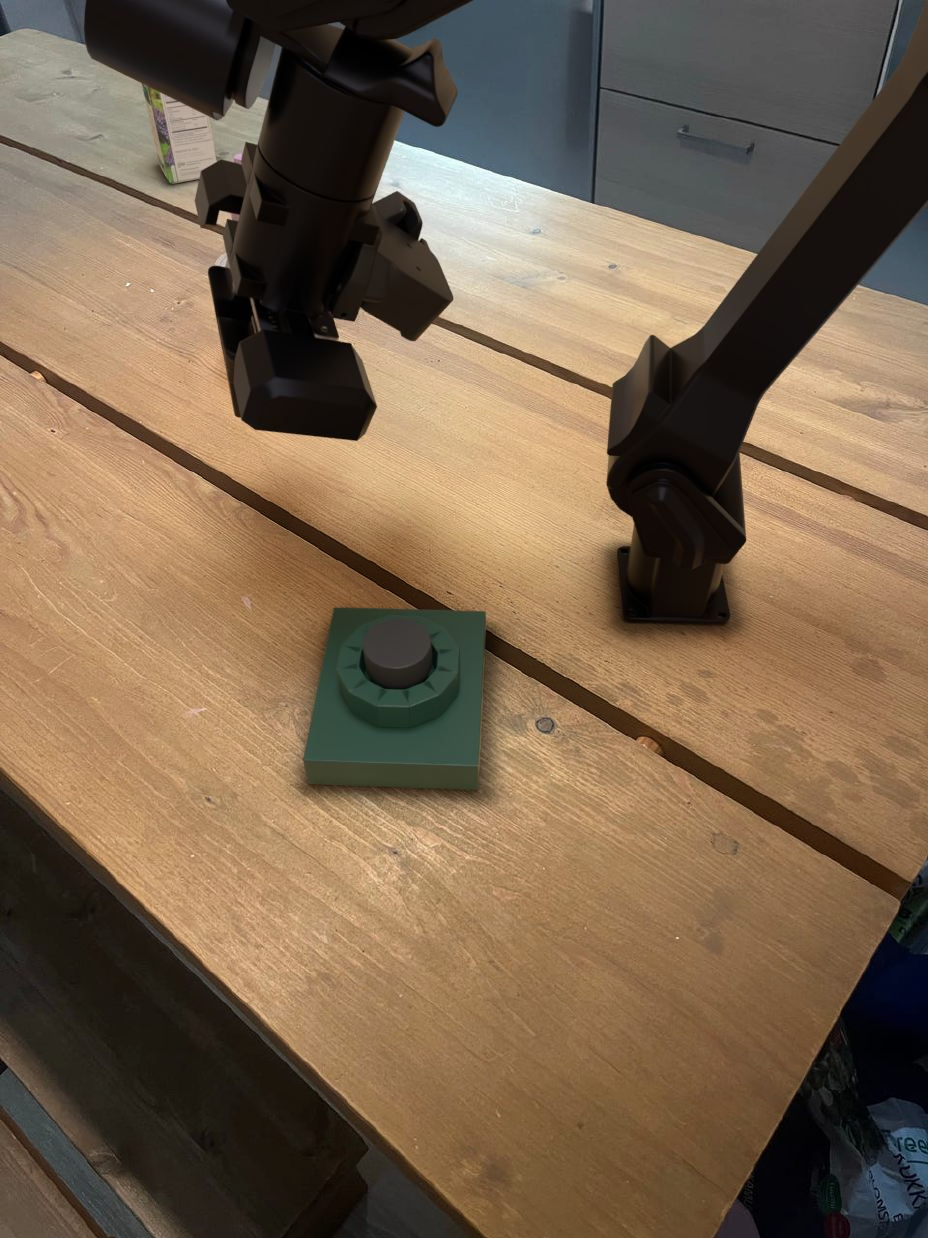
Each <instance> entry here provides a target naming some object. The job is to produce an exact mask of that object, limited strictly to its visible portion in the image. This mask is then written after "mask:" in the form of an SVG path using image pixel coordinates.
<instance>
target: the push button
mask: <svg viewBox="0 0 928 1238" xmlns="http://www.w3.org/2000/svg"><path fill="white" fill-rule="evenodd" d="M363 651H364V659H365V666H366V671H367V673H368V675H369V677H370V678H371V679H372V680H373V681H374V682H375V683H377V684H378V685H380V686H382V687H385V688H389V689H405V688H409V687H412V686H415V685H417V684H419V683H420V682H422V681H423V680H424V679H425V678H426V677H427V676H428V674H429V672H430V671H431V668H432V645H431V637H430V635H429V633H428V631H427V630H426V629H425V628H424V627H423V626H422V625H421V624H419V623H417V622H415V621H413V620H409V619H403V618H395V619H389V620H385V621H382V622H380V623H378V624H376V625H375V626H374V627H372V628H371V629H370V630H369V631H368V633H367V634H366V636H365V638H364V641H363Z"/></svg>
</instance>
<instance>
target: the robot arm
mask: <svg viewBox="0 0 928 1238" xmlns="http://www.w3.org/2000/svg"><path fill="white" fill-rule="evenodd" d="M473 1H474V0H85V5H84V15H83V16H84V17H83V18H84V19H83V33H84V43H85V44H84V45H85V48H86V51H87V54H88V55H89V57H90V58H91V59H92V60H94V61H95V62H98V63H99V64H102V65H104V66H105V67H107V68H110V69H112V70H114V71H115V72H117V73H120V74H122V75H124V76H126V77H128V78H130V79H132V80H134V81H136V82H138V83H139V84H141V85H142V84H144V85H146V86H148V87H150V88H152V89H154V90H156V91H158V92H160V93H162V94H164V95H166V96H168V97H170V98H172V99H174V100H176V101H179V102H181V103H183V104H185V105H187V106H189V107H191V108H193V109H195V110H197V111H199V112H201V113H203V114H205V115H207V116H209V118H210V119H213V120H215V121H220V120H221V119H223V118H225V116H226V115H227V113H228V111H229V110H230V108H231V106H232V104H233V103H235V104H236V105H238V106H240V107H242V108H244V109H246V110H250V109H251V108H252V107H253V105H254V104H255V103H256V101H257V99H258V97H259V95H260V93H261V91H262V88H263V86H264V84H265V81H266V79H267V76H268V73H269V70H270V67H271V64H272V60H273V57H274V53H275V49H276V48H275V47H276V45H277V46H279V47H280V48H281V50H280V53H279V57H278V61H277V65H276V69H275V73H274V77H273V81H272V84H271V89H270V94H269V96H268V101H267V105H266V109H265V113H264V116H263V121H262V125H261V129H260V132H259V137H258V141H257V144H256V143H253V142H248V141H245V142H244V147H243V151H242V153H243V154H242V159H241V164H239V163H235V162H234V161H230V160H226V159H222V158H221V159H219V160H217V162H215V163H214V164H212V165H210V166H208V167H207V168H205V169H203V170H201V173H200V178H199V179H198V183H197V188H196V193H195V197H194V204H195V209H196V214H197V219H198V223H199V228H200V229H204V230H209V231H212V230H213V229H214V228H216V227H217V223H218V219H219V214H220V212H224V213H227V214H231V213H233V214H238V215H240V216H239V220H238V221H235V220H232V219H229V218H226V221H225V226H224V229H223V233H222V240H223V243H224V244H223V245H224V249H225V253H226V254H227V261H226V265H225V267H222V266H215V265H211V266H209V267H208V269H207V276H208V277H207V278H208V282H209V288H210V293H211V298H212V303H213V308H214V315H215V320H216V325H217V330H218V335H219V340H220V346H221V350H222V356H223V361H224V366H225V372H226V378H227V383H228V388H229V393H230V399H231V400H230V401H231V403H232V405H231V406H232V409H233V414H234V416H235V418H240V421H242V422H243V423H245V424H246V425H248V426H249V427H250V428H252V429H253V430H254V431H262V432H269V433H270V432H271V433H280V434H288V435H289V434H290V435H297V436H308V437H316V438H326V439H335V440H344V441H354V442H358V441H359V440H360V439H361V438H363V437H364V436H365V435H366V434H367V431H368V429H369V427H370V424H371V423H372V419H373V417H374V415H375V413H376V411H377V408H378V405H377V401H376V399H375V395H374V392H373V389H372V385H371V382H370V380H369V377H368V374H367V371H366V368H365V364H364V361H363V359H362V358H361V356H360V355H359V353H358V352H357V350H356V349H355V347H354V346H353V344H352V343H351V342H346V341H341V340H339V339H340V335H339V331H338V328H337V326H336V321H335V319H336V320H342V321H347V322H356V321H357V318H358V314H359V312H360V309H362V310H363V311H364V312H365V313H367V314H368V315H370V316H372V317H374V318H375V319H377V320H379V321H380V322H382V323H383V324H385V325H387V326H389V327H391V328H392V329H394V330H396V331H399V334H400V336H401V337H402V338H404V339H405V340H407V341H409V342H416V341H418V340H419V338H420V337H421V336H422V335H423V334H424V333H425V332H426V331H427V329H428V328H429V327H430V326H432V324H433V323H434V322H435V321H436V320H437V319H438V318H439V317H440V315H442V313H443V312H444V311H445V310H446V309H447V308H448V307H449V306H450V305H451V304H452V302H453V301H454V295H453V292H452V290H451V287H450V285H449V282H448V281H447V277H446V275H445V273H444V270H443V268H442V266H441V264H440V261H439V259H438V258H437V256H436V255H435V254H434V253H433V251H431V249H430V247H429V244H428V241H427V240H426V239H424V238H423V237H420V236H421V233H422V228H423V224H424V223H423V219H422V216H421V214H420V212H419V210H418V207H417V205H416V203H415V202H414V201H413V200H412V199H410V198H408V197H407V196H405V194H403V193H401V192H400V191H398V190H396V191H394V192H391V193H390V194H388V195H386V196H384V197H382V198H380V199H378V200H376V201H374V199H375V197H376V193H377V191H378V189H379V186H380V182H381V179H382V176H383V174H384V171H385V169H386V166H387V162H388V160H389V157H390V154H391V152H392V149H393V146H394V143H395V140H396V138H397V135H398V132H399V129H400V127H401V124H402V121H403V118H404V115H405V113H407V114H409V115H411V116H412V117H415V118H417V119H418V120H421V121H423V122H425V123H427V124H428V125H430V126H432V127H435V128H440V127H442V126H443V125H444V124H445V123H446V122H447V119H448V117H449V115H450V113H451V110H452V108H453V106H454V104H455V102H456V99H457V97H458V88H457V86H456V84H455V82H454V80H453V78H452V76H451V73H450V71H449V69H448V68H447V65H446V62H445V59H444V55H443V46H442V42H441V40H440V39H438V38H432V39H430V40H428V41H427V42H425V43H423V44H421V45H416V46H406V45H404V44H403V43H400V42H399V41H397V39H400V38H403V37H405V36H407V35H410V34H412V33H413V32H414V33H415V31H417V30H420V29H421V28H423V27H425V26H427V25H429V24H431V23H433V22H434V21H437V20H439V19H440V18H442V17H445V16H446V15H448V14H450V13H452V12H454V11H457V10H458V9H460V8H462V7H464V6H466V5H467V4H469V3H471V2H473ZM335 23H339V24H340V25H343V26H344V28H341V27H338V26H335V25H332V24H335ZM908 42H909V43H908V45H907V47H906V50H905V52H904V54H903V56H902V58H901V60H900V62H899V64H898V65H897V67H896V69H895V71H893V73H892V74H891V75H890V77H889V78H888V80H887V81H886V83H885V84H884V85H883V87H881V89H880V91H879V92H878V93H877V94H876V95H875V97H874V98H873V100H872V101H871V102H870V103H869V105H868V106H867V108H866V109H865V110H864V112H863V113H861V114H862V115H860V117H859V118H858V119H857V121H856V122H855V123H854V125H853V126H852V127H851V129H850V130H849V132H848V133H847V135H846V136H845V137H844V138H843V139H842V141H841V142H840V143H839V145H838V146H837V148H836V149H835V151H834V152H833V153H832V154H831V156H830V157H829V158H828V160H827V161H826V162H825V164H824V165H823V166H822V168H821V169H820V171H819V172H818V173H817V175H816V176H815V177H814V178H813V180H812V181H811V183H810V184H809V185H807V186H808V187H806V189H805V190H804V192H803V193H802V194H801V196H800V197H799V198H798V200H796V203H795V204H794V205H793V206H792V208H791V209H790V210H789V211H788V213H787V214H786V216H785V217H784V218H783V219H782V221H781V222H780V223H779V225H778V226H777V228H776V229H775V231H774V232H772V234H771V236H769V238H768V239H767V241H766V243H765V244H764V245H763V246H762V247H761V249H760V250H759V252H757V254H756V255H755V257H754V258H753V260H752V261H751V262H750V264H749V265H748V266H747V268H746V269H745V270H744V272H743V273H742V274H741V276H740V277H739V278H738V280H737V281H736V282H735V284H734V285H733V286H732V288H731V289H730V290H729V292H728V293H727V294H726V295H725V296H724V298H723V299H722V301H721V303H720V304H719V305H718V306H717V308H716V309H715V310H714V312H713V313H712V314H711V316H710V317H709V318H708V320H707V321H706V322H705V324H704V325H703V326H702V327H701V328H700V329H699V330H698V331H697V332H696V333H695V334H693V335H691V336H690V337H687V338H686V339H684V340H682V341H680V342H679V343H676V344H675V345H673V346H671V347H670V346H669V345H668V344H666V343H665V342H664V341H662V340H661V339H660V338H659V337H657V335H655V334H650V335H648V338H647V339H646V340H645V342H644V344H643V345H642V348H641V350H640V353H639V354H638V357H637V358H636V361H635V363H634V364H633V366H632V367H631V368H630V369H629V370H628V371H627V372H626V374H625V375H623V376H621V377H620V378H618V379H616V380H615V381H614V382H613V383H612V384H611V397H610V409H609V410H610V411H609V420H608V421H609V423H608V432H607V443H606V445H607V446H606V455H607V456H608V460H607V472H606V484H605V485H606V487H607V490H608V494H609V497H610V499H611V501H612V502H613V503H614V504H615V505H616V507H617V508H618V509H619V510H620V511H622V512H623V513H624V514H626V515H627V516H630V517H631V518H632V521H633V529H632V534H631V542H630V545H621V546H619V547H618V548H617V549H616V555H615V557H616V569H617V579H618V589H619V590H618V591H619V592H618V593H619V602H620V614H621V619H622V620H623V621H624V622H626V623H629V624H656V625H658V624H659V625H689V626H690V625H693V626H695V625H696V626H726V625H728V624H729V623H730V620H731V611H730V606H729V601H728V596H727V592H726V591H727V590H726V586H725V581H724V576H723V573H724V568H725V565H728V564H729V563H731V561H732V560H733V559H734V558H735V557H736V555H737V554H738V553H739V552H740V550H741V549H743V546H744V545H745V544H746V543H747V530H746V529H747V528H746V517H745V504H744V490H743V489H744V488H743V475H742V463H741V452H740V451H741V449H742V446H743V443H744V441H745V439H746V436H747V433H748V431H749V430H750V429H749V428H750V426H751V424H752V421H753V418H754V417H755V413H756V411H757V409H758V406H759V405H760V402H761V400H762V398H763V397H764V395H765V394H766V392H767V391H768V390H769V389H770V388H771V387H772V386H773V385H774V383H775V382H776V381H777V380H778V378H779V377H780V376H781V375H782V374H783V373H784V371H786V369H787V368H788V367H789V366H790V365H791V364H792V362H793V361H794V360H795V359H796V357H798V355H799V354H800V353H801V352H802V351H803V349H804V348H805V347H806V346H807V345H808V344H809V343H810V342H811V340H812V339H813V338H814V336H816V334H817V333H819V331H820V330H821V329H822V327H824V325H825V324H826V323H827V322H828V321H829V319H830V318H831V317H832V316H833V315H834V314H835V313H836V311H838V309H839V308H840V306H841V305H842V304H843V303H845V301H846V300H847V298H848V297H849V296H850V295H851V294H852V293H853V291H854V290H855V289H856V288H857V286H859V285H860V283H861V282H862V281H863V280H864V279H865V277H867V275H868V274H869V273H870V272H871V271H872V270H873V268H874V267H875V266H876V265H877V263H878V262H879V261H880V260H881V259H882V258H883V256H884V255H885V254H887V252H888V251H889V250H890V248H891V247H892V246H893V245H894V244H895V242H897V241H898V239H899V238H900V237H901V236H902V235H903V233H904V232H906V230H907V229H908V227H910V226H911V224H913V222H914V221H915V219H916V218H917V217H918V216H919V215H920V213H922V211H923V210H924V209H925V208H926V207H927V205H928V0H925V3H924V5H923V8H922V9H921V12H920V15H919V17H918V21H917V23H916V25H915V27H914V29H913V33H912V35H911V37H910V40H909V41H908Z"/></svg>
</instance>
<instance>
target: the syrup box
mask: <svg viewBox="0 0 928 1238" xmlns="http://www.w3.org/2000/svg"><path fill="white" fill-rule="evenodd" d="M141 88H142V92H143V97H144V101H145V107H146V110H147V111H146V112H147V116H148V120H149V124H150V128H151V133H152V137H153V142H154V146H155V150H156V156H157V159H158V164H159V167H160V168H161V171H162V172H163V174H164V176H165V178H166V180H167V181H168V182H169V184H180V183H184V182H190V181H195V180H199V178H200V173H201V170H203V169H205V168H207V167H208V166H210V165H212V164H214V163H215V162H217V161H218V157H217V153H216V152H217V151H216V147H215V146H216V145H215V140H214V134H213V130H212V124H211V117H209V116H207V115H205V114H203V113H201V112H199V111H197V110H195V109H193V108H191V107H189V106H187V105H185V104H183V103H181V102H179V101H176V100H174V99H172V98H170V97H168V96H166V95H164V94H162V93H160V92H158V91H156V90H154V89H152V88H150V87H148V86H146V85H144V84H142V83H141Z"/></svg>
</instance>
